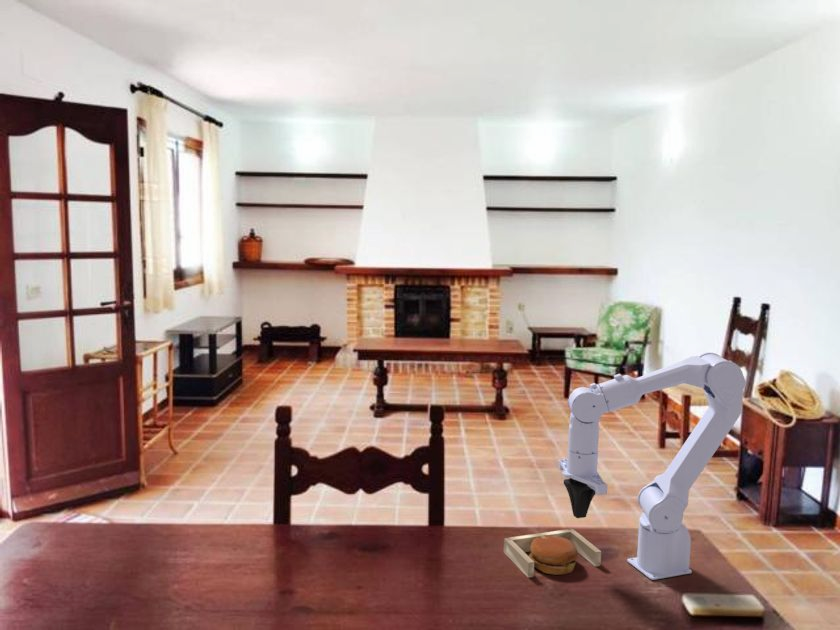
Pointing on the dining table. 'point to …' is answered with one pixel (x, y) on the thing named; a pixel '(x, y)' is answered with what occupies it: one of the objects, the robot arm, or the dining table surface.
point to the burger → (553, 554)
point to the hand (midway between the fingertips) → (579, 516)
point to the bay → (522, 544)
